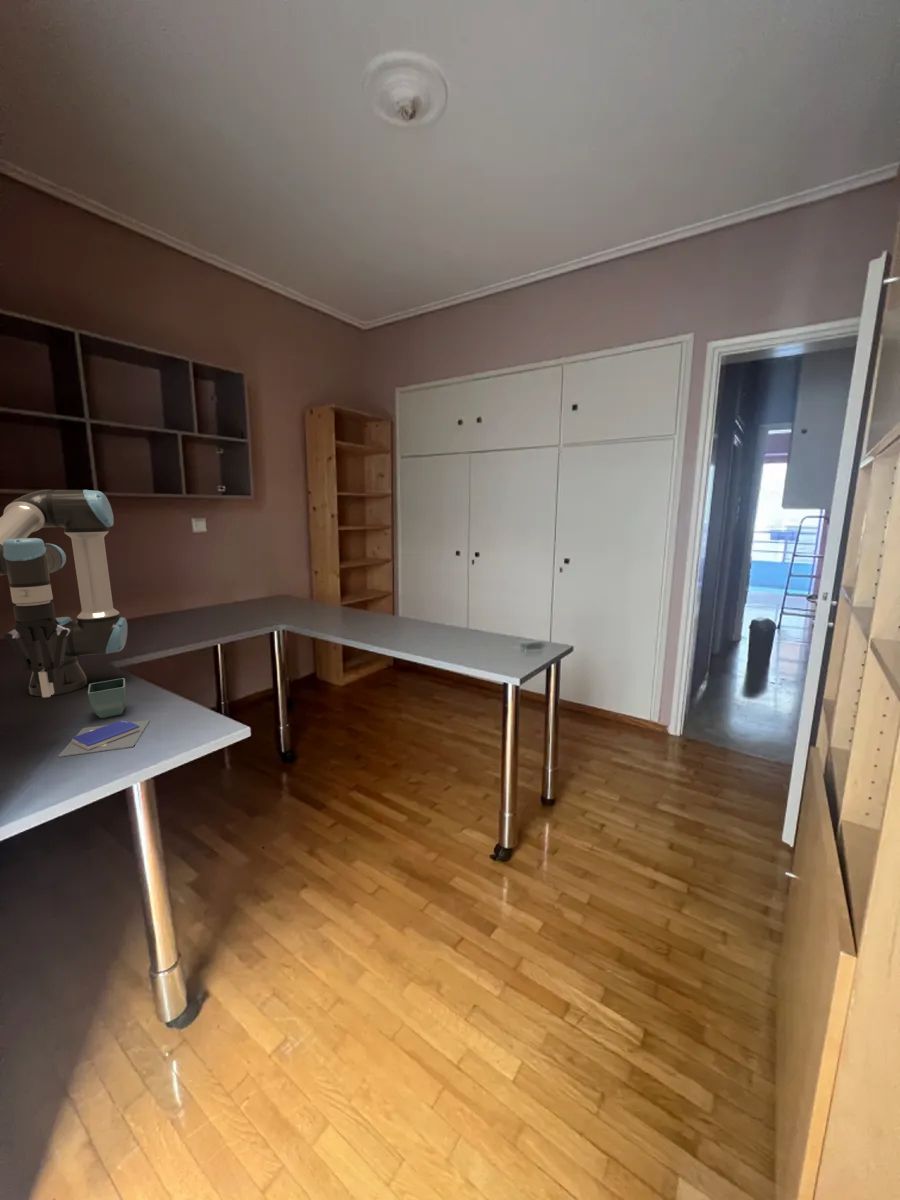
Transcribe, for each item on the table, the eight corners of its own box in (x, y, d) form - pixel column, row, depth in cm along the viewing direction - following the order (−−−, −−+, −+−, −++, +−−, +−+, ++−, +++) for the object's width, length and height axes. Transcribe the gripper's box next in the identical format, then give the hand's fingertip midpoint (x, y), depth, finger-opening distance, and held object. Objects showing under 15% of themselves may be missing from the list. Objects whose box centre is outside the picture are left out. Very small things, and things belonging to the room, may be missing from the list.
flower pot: (91, 723, 137) (87, 693, 135) (93, 712, 144) (89, 683, 142) (129, 715, 142) (125, 686, 140) (128, 705, 149) (124, 677, 147)
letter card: (83, 728, 133) (82, 727, 133) (149, 720, 138) (149, 719, 138) (57, 757, 118) (57, 756, 118) (133, 747, 123) (133, 746, 123)
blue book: (123, 718, 135) (71, 737, 125) (139, 725, 131) (87, 744, 121) (124, 724, 135) (72, 742, 125) (140, 730, 131) (88, 750, 121)
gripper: (-9, 607, 112) (8, 704, 116) (59, 603, 116) (73, 697, 120) (8, 601, 119) (24, 693, 123) (71, 598, 123) (84, 687, 127)
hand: (48, 695), depth 122 cm, fingers closed
